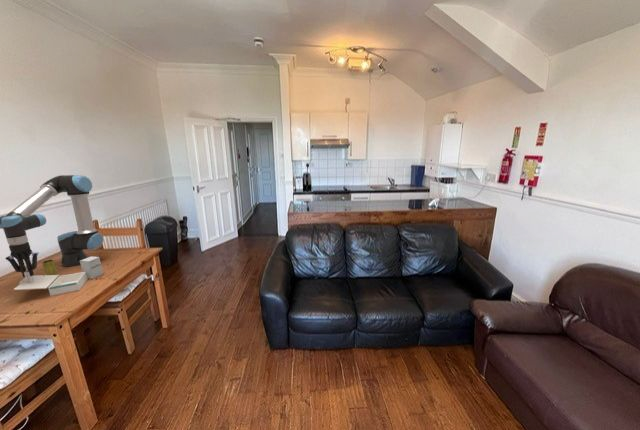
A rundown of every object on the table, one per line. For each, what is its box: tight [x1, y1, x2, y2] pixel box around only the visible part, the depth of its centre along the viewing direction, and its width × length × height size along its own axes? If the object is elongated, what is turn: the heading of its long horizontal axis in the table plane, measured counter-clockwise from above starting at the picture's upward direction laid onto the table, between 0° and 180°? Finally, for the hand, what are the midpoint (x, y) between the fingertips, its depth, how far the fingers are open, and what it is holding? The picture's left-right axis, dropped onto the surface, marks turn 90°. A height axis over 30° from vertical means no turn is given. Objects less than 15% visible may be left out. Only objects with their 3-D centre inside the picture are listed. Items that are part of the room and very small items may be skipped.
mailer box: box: [47, 271, 88, 297], centre depth 162 cm, size 16×13×5 cm
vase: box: [41, 258, 60, 285], centre depth 168 cm, size 6×6×14 cm
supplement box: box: [79, 256, 104, 280], centre depth 174 cm, size 7×7×13 cm
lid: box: [13, 274, 60, 291], centre depth 155 cm, size 18×13×2 cm
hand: (30, 281), depth 153 cm, fingers closed
